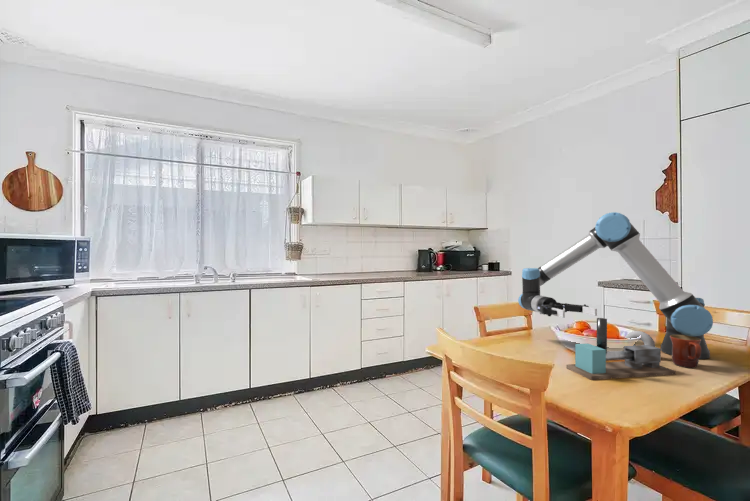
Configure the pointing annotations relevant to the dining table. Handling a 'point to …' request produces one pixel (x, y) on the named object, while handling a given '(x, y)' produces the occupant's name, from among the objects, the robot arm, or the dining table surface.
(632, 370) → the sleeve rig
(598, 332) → the slip tube
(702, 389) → the dining table surface
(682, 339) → the mug
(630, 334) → the grey curved piece
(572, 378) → the dining table surface
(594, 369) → the socket block
